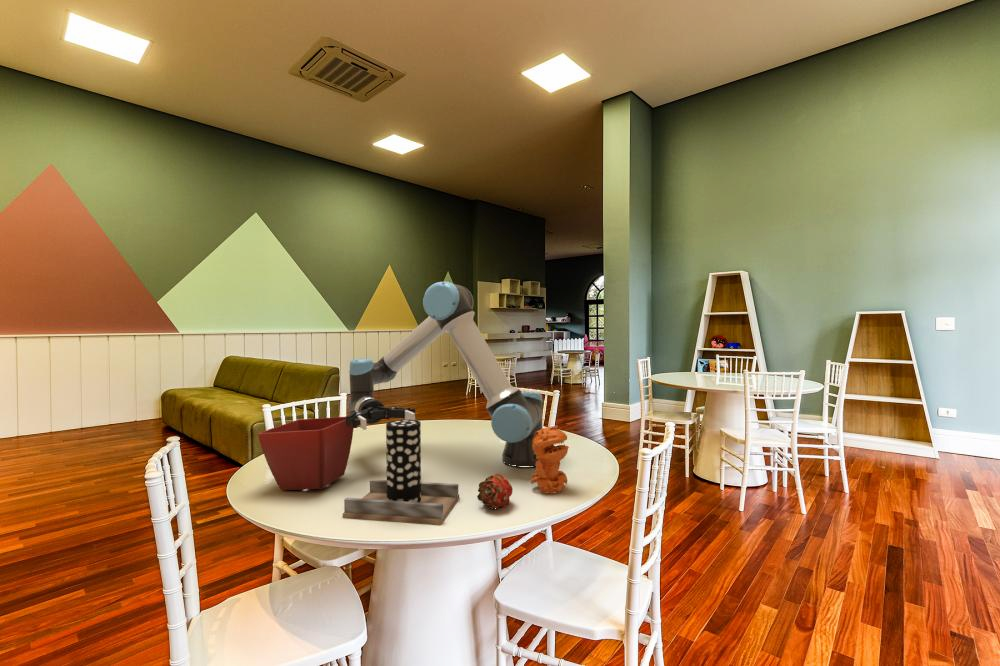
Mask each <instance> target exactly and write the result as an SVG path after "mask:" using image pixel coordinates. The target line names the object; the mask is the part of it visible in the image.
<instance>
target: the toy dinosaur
mask: <svg viewBox="0 0 1000 666" xmlns="http://www.w3.org/2000/svg"><path fill="white" fill-rule="evenodd" d="M558 427H559V425H557V424H555V425H554V426H546V427H544V428H542V429H541V430H539V431H536V432H535V435H534V437H533V442H532V447H533V448H532V449H533V451H534V454H535V455H536V459H538V460H539V461H536V463H535V466H536V467H535V472H534V473H533V474H532V477H531V479H529V481H530V482H529V483H531V485H533V484H534V483H537V487H538V491H540V490H541V491H543V492H548V493H547V494H554V493H553V492H557V493H559V492H561V491H562V489H564V490H566V485H568V477H567V475H566V474H567V473H565V472H564V471H562V470H561V471H560V466H561V462H560V461H562V460H563V459H565V457H566V456H567V454H568V452H569V451H568V450H569V448H570V447H569V446H568V445H565V443H564V442H565V441H567V440H568V435H567V434H566V432H564V431H563V430H561V429H560V428H558ZM535 436H536V437H535ZM534 438H535V439H534ZM540 461H541V462H540ZM541 491H540V492H541ZM558 491H559V492H558ZM543 492H542V493H543Z"/></svg>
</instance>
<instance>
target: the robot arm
mask: <svg viewBox="0 0 1000 666" xmlns="http://www.w3.org/2000/svg"><path fill="white" fill-rule="evenodd" d="M474 302H475V300H474V296H473V295H472V293H471V290H469V289H468V288H467V287H465V286H463V285H461V284H456V283H453V282H449V281H438V282H435V283H433V284H431V285H430V286H429V287H428V288H427V289H426V291H425V292H424V296H423V298H422V305H423V310H424V311H425V314H427V315H428V317H426V318H425V319H424V320H423V321H422V322H421V323H419V325H417V326H416V327H415V328H414V329H413V330H412V331H411V332H410V333H408V334H407V335H406V336H404V338H402V339H401V340H400V341H399V342H398V343H397V344H396V345H395V346H393V347H392V348H391V349H390V350H389V351H388V352H386V353H385V354H384V355H383V356H382V357H380V359H379V360H378V361H377V362H373V359H372V358H355V359H351V360H350V362H349V370H348V371H349V372H348V373H349V387H350V388H349V391H350V392H349V393H350V394H349V400H348V401H347V407H348V410H349V411H350V413H349V414H347V415H345V417H346V426H349V425H351V424H353V428H354V429H357V428H359V427H360V429H362V430H363V431H364V430H365V431H366V430H367V429H368V428H367V425H374V424H377V423H379V422H380V421H381V420H390V419H404V420H416V417H417V416H416V409H415V408H412V407H409V406H408V407H399V406H396V405H393V406H392V407H389V406H385V405H384V404H383V403H382V402H381V401H380V400H378V399H376V398H375V397H374V395H375V391H374V390H375V388H374V387H375V386H374V385H379V384H382V383H384V384H385V383H389V382H390V381H392V380H394V379H395V378H396V377H397V374H398V372H399V371H400V370H401V369H403V368H404V367H405V366H406V365H408V364H409V363H410V362H411V361H412V360H414V359H415V358H416V357H417V356H418V355H419V354H420V353H421V352H423V351H424V350H425V349H426V348H427V347H428V346H430V345H431V344H432V343H433V342H434V341H435V340H437V339H438V338H440V336H441V335H443V333H447V334H449V336H450V337H451V340H452V341H453V343H454V344H455V346H456V348H457V349H458V351H459V353H460V355H461V357H462V358H463V360H464V362H465V363H466V365H467V367H468V368H469V370H470V372H471V374H472V376H473V378H474V379H475V381H476V383H477V384H478V386H479V388H480V390H481V392H482V393H483V395H484V397H485V398H486V400H487V402H486V405H485V406H486V407H485V408H486V410H487V412H488V414H489V416H490V417H491V422H490V423H491V428H492V429H491V430H492V431H493V433H494V435H496V437H497V438H499V439H500V440H501V441H504V442H505V445H504V448H503V452H502V457H501V458H502V460H503V461H502V460H501V461H502V463H503V462H505V463H507V464H510V465H516V466H535V463H536V461H539V460H538V459H536V455H535V454H534V451H533V449H532V448H533V447H532V442H533V437H534V435H535V432H536V431H539V430H541V429H543V403H544V401H543V395H542V393H540V392H534V391H533V392H532V391H521V390H520V388H518V387H515V386H513V385H512V384H511V382H510V381H509V379H508V377H507V376H506V374H505V372H504V370H503V369H502V367H501V365H500V364H499V362H498V360H497V358H496V356H495V355H494V354H493V351H492V350H491V348H490V346H489V345H488V343H487V342H486V339H485V338H484V336H483V335H482V333H481V331H480V329H479V327H478V326H477V324H476V322H475V321H474V317H475V314H476V313H475V311H474ZM535 437H536V436H535ZM534 439H535V438H534ZM540 462H541V461H540ZM505 463H504V464H505ZM507 464H506V465H507Z"/></svg>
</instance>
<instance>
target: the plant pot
mask: <svg viewBox="0 0 1000 666" xmlns="http://www.w3.org/2000/svg"><path fill="white" fill-rule="evenodd" d="M354 429H355V428H353V424H351V425H349V426H346V416H335V417H322V418H321V417H319V418H318V417H317V418H305V419H304V418H303V419H296V420H292V421H290V422H287V423H284V424H281V425H279V426H278V425H277V426H275V427H272V428H270V429H266V430H263V431H260V432H258V433H257V435H258V439H259V443H260V446H261V450H262V452H263V455H264V457H265V460H266V463H267V465H268V468H269V470H270V472H271V474H272V477H273V478H274V480H275V482H276V484H277V485H278V487H279V489H280V490H281V491H293V490H297V491H298V490H321V489H324V488H326V487H327V486H329V485H330V484H332V483H333V482H335V481H336V480H338V479H340V478H341V477H343V476H344V475H345V473H346V470H347V466H348V461H349V457H350V453H351V447H352V442H353V435H354Z"/></svg>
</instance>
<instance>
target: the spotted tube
mask: <svg viewBox="0 0 1000 666" xmlns="http://www.w3.org/2000/svg"><path fill="white" fill-rule="evenodd" d="M385 425H386V426H385V427H386V428H385V429H386V431H385V432H386V433H385V434H386V435H385V436H386V437H385V438H386V439H385V440H386V441H385V442H386V444H385V445H386V447H385V448H386V449H385V450H386V451H385V452H386V480H387V500H390V501H405V502H421V482H422V468H421V467H422V464H421V463H422V453H421V452H422V451H421V450H422V446H421V445H422V444H421V439H422V438H421V434H422V433H421V432H422V431H421V428H422V427H421V425H422V424H421V421H420V420H416V419H415V420H405V419H396V420H391V421H388V422H386V424H385Z"/></svg>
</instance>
